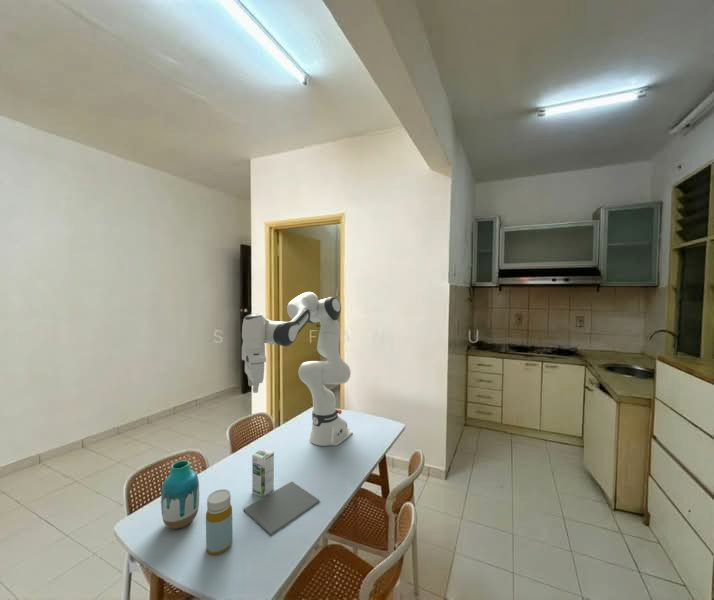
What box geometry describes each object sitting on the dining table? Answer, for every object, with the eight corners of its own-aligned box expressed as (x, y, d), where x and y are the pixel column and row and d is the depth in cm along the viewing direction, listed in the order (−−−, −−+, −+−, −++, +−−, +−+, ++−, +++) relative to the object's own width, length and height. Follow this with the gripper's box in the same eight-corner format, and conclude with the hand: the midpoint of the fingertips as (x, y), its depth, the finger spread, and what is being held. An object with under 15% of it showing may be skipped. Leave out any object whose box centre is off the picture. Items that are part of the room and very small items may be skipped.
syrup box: (251, 493, 114) (251, 454, 113) (263, 484, 119) (263, 447, 119) (263, 498, 111) (262, 458, 111) (274, 488, 117) (274, 451, 116)
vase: (156, 539, 93) (155, 477, 92) (167, 514, 103) (166, 458, 102) (195, 531, 96) (194, 471, 95) (202, 508, 106) (201, 453, 105)
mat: (291, 482, 120) (291, 481, 120) (319, 501, 110) (319, 500, 110) (243, 510, 105) (243, 508, 105) (270, 535, 95) (270, 533, 95)
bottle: (202, 545, 91) (202, 495, 90) (226, 532, 96) (226, 485, 95) (211, 560, 86) (210, 508, 85) (236, 546, 91) (235, 496, 90)
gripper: (241, 350, 132) (240, 383, 132) (249, 360, 114) (249, 397, 114) (256, 349, 135) (256, 381, 135) (267, 358, 117) (266, 395, 117)
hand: (253, 388), depth 125 cm, fingers open, 8 cm apart
